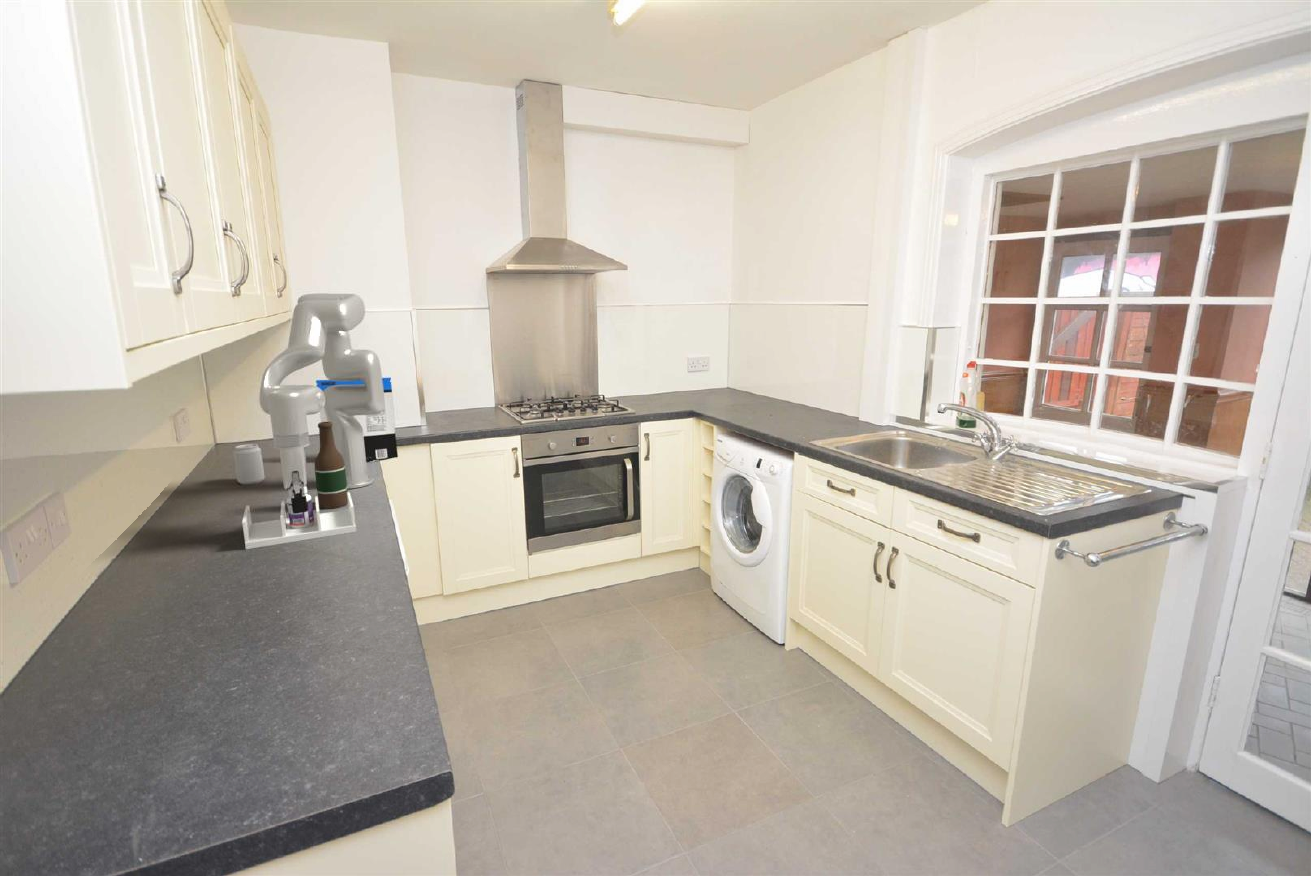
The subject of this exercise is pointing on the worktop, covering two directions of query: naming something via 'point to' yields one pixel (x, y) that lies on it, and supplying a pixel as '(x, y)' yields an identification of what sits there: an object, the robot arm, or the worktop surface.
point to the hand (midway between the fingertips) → (300, 506)
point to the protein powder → (373, 423)
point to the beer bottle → (330, 471)
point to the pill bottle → (301, 518)
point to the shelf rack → (284, 533)
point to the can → (248, 464)
